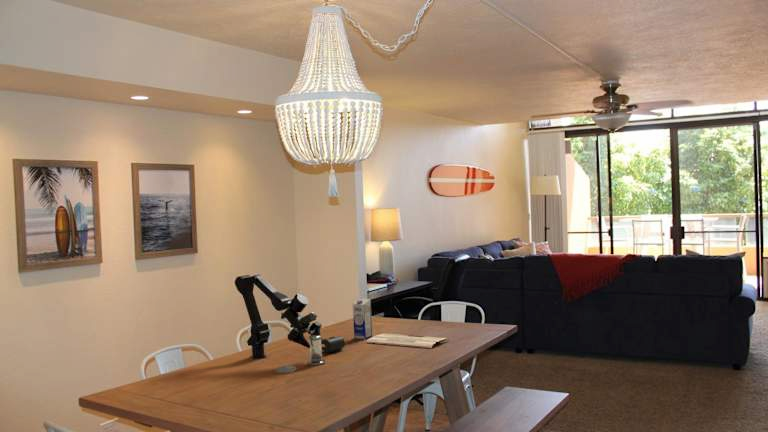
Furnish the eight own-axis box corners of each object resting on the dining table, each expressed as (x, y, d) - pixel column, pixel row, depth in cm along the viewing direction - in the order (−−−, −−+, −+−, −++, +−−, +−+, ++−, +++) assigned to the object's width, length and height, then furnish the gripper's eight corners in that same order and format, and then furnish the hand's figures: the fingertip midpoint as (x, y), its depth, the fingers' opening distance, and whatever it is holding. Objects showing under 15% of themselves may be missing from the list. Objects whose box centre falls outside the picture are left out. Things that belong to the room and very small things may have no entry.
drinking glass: (308, 356, 300) (307, 336, 300) (320, 354, 302) (319, 334, 302) (311, 358, 295) (310, 338, 295) (323, 357, 297) (322, 336, 297)
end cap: (331, 354, 315) (330, 340, 315) (320, 353, 320) (319, 339, 319) (345, 350, 323) (344, 336, 323) (334, 349, 327) (334, 335, 327)
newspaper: (448, 342, 332) (448, 336, 332) (430, 350, 316) (430, 344, 316) (385, 337, 352) (385, 332, 352) (364, 345, 336) (364, 339, 336)
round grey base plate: (305, 362, 301) (305, 356, 301) (322, 360, 304) (322, 353, 304) (309, 366, 294) (309, 359, 294) (327, 364, 297) (327, 357, 296)
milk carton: (372, 337, 352) (370, 298, 351) (365, 339, 346) (363, 300, 346) (361, 336, 356) (359, 298, 355) (354, 338, 350) (352, 300, 349)
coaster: (273, 369, 291) (273, 367, 291) (293, 367, 294) (293, 364, 294) (277, 374, 282) (277, 372, 282) (298, 371, 285) (298, 369, 285)
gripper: (291, 310, 293) (312, 337, 288) (317, 304, 309) (338, 329, 303) (278, 327, 297) (299, 354, 292) (304, 320, 313) (325, 345, 308)
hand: (316, 345), depth 299 cm, fingers open, 9 cm apart
